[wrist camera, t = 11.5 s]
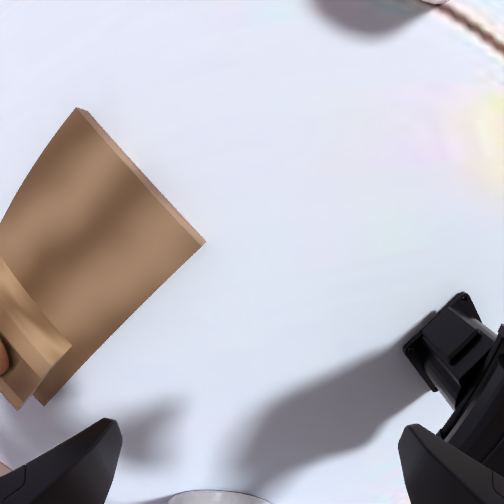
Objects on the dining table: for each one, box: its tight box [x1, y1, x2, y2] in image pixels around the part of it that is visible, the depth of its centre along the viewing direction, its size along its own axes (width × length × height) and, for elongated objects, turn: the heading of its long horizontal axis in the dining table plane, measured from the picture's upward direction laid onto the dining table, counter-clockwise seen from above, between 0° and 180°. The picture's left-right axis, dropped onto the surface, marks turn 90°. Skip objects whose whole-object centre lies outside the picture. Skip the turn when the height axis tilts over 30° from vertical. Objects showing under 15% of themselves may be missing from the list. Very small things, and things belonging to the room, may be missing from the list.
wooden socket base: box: [0, 107, 206, 411], centre depth 18 cm, size 12×22×4 cm, turn 132°
